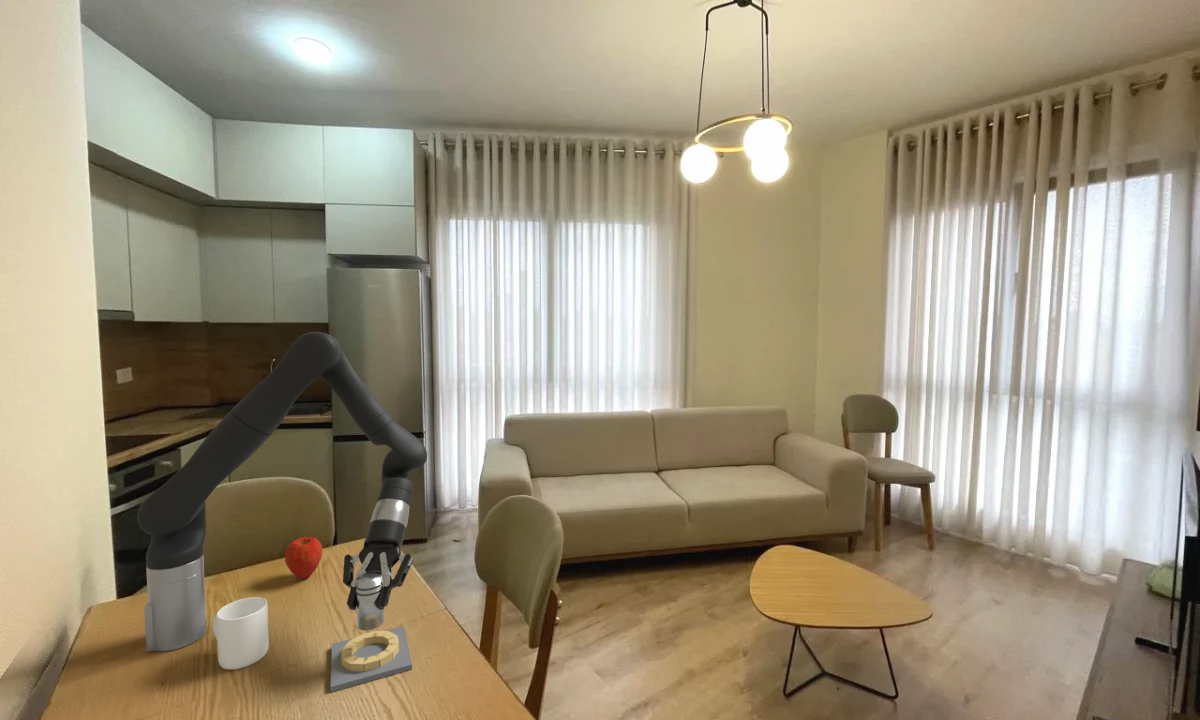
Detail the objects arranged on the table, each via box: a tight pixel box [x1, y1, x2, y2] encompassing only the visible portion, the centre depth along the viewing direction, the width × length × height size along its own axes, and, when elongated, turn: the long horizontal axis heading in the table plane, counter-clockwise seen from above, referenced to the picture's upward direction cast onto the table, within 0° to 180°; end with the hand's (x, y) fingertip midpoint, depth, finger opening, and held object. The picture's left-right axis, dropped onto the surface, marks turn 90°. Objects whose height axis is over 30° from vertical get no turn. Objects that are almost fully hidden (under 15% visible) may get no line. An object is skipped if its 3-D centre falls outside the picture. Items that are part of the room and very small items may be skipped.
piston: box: [356, 572, 385, 631], centre depth 100 cm, size 5×5×10 cm
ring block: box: [330, 625, 413, 693], centre depth 101 cm, size 14×14×2 cm
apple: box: [284, 536, 323, 580], centre depth 132 cm, size 9×8×11 cm
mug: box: [212, 596, 269, 671], centre depth 101 cm, size 12×8×10 cm
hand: (366, 608), depth 98 cm, fingers closed on piston, 5 cm apart
